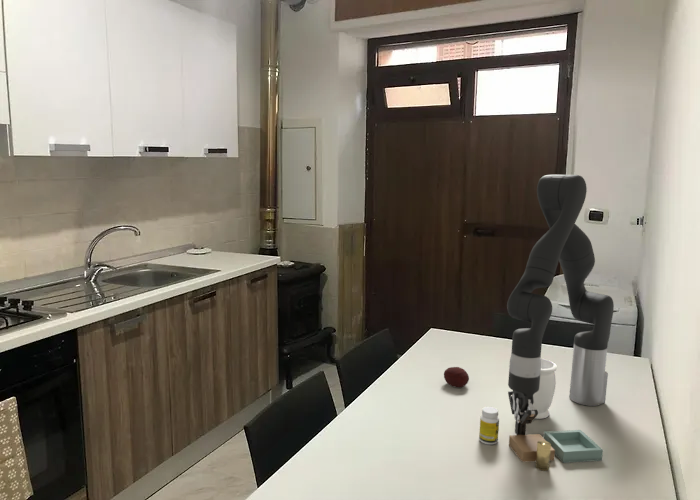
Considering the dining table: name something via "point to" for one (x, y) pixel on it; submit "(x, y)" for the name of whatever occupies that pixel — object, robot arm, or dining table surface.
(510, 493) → the dining table surface
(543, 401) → the jar
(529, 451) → the brown wooden square block
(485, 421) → the supplement bottle
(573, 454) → the tray
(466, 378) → the potato
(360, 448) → the dining table surface
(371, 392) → the dining table surface
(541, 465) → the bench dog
